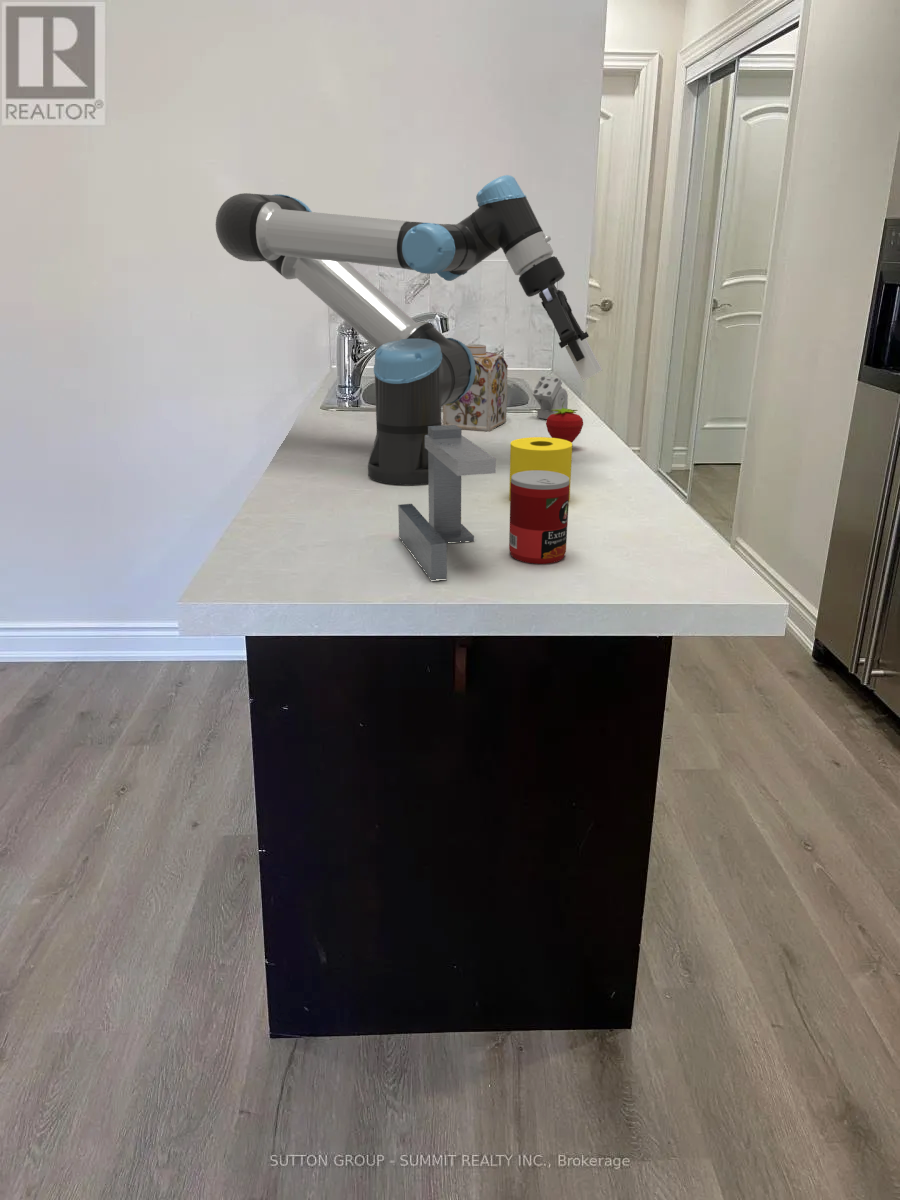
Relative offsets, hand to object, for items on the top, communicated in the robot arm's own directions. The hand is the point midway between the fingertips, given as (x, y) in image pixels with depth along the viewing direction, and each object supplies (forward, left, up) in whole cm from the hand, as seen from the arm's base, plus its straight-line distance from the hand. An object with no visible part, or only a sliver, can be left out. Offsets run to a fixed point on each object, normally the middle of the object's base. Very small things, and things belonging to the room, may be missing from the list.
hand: (593, 375), depth 160 cm
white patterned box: (-32, +37, -18) cm, 52 cm away
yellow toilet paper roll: (-5, -20, -18) cm, 27 cm away
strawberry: (-8, +18, -18) cm, 27 cm away
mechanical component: (-17, +50, -18) cm, 55 cm away
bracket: (-11, -50, -18) cm, 54 cm away
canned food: (+1, -47, -18) cm, 50 cm away
